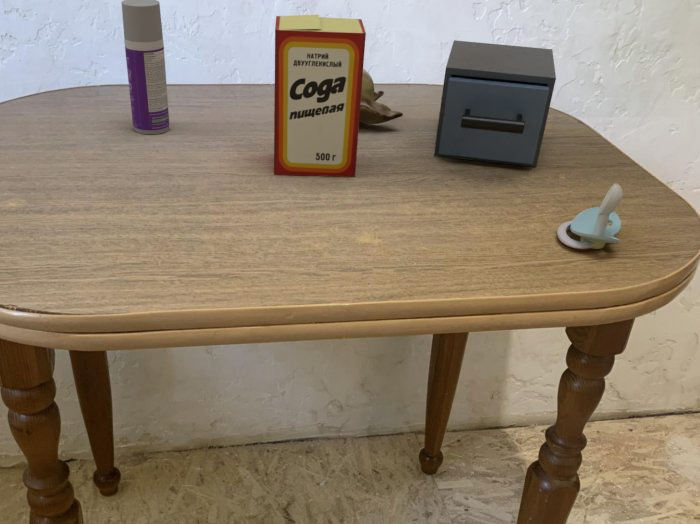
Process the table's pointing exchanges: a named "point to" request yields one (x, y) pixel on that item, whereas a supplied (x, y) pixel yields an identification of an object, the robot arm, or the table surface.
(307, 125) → the baking soda box
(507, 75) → the cabinet
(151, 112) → the container
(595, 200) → the table surface
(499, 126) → the drawer
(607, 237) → the pacifier
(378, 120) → the ceramic sculpture
